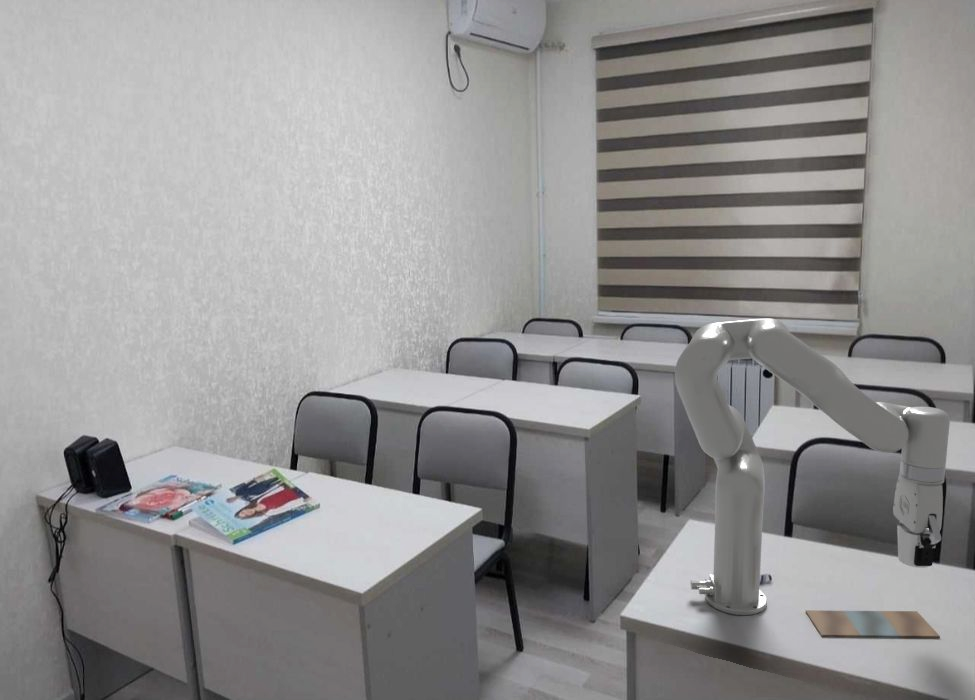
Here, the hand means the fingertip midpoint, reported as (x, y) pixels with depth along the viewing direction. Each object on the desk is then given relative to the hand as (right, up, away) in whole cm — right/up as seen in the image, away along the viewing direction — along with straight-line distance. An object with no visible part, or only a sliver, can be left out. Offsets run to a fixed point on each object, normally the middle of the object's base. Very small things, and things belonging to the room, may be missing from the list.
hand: (914, 556), depth 148 cm
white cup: (0, -1, 0) cm, 1 cm away
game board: (-7, -15, +3) cm, 17 cm away
